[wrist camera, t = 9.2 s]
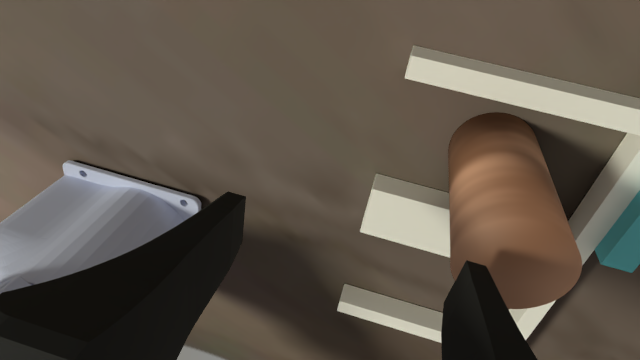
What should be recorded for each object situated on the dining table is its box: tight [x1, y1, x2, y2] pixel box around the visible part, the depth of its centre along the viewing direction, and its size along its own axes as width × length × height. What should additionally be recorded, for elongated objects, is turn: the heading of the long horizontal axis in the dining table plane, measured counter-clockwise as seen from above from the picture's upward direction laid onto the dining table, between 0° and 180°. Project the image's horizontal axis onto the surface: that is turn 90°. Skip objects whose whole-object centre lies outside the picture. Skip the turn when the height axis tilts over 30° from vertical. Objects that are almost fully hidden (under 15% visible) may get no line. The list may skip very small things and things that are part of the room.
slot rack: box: [337, 45, 640, 343], centre depth 22 cm, size 12×17×2 cm
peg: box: [448, 112, 582, 309], centre depth 17 cm, size 4×4×8 cm
